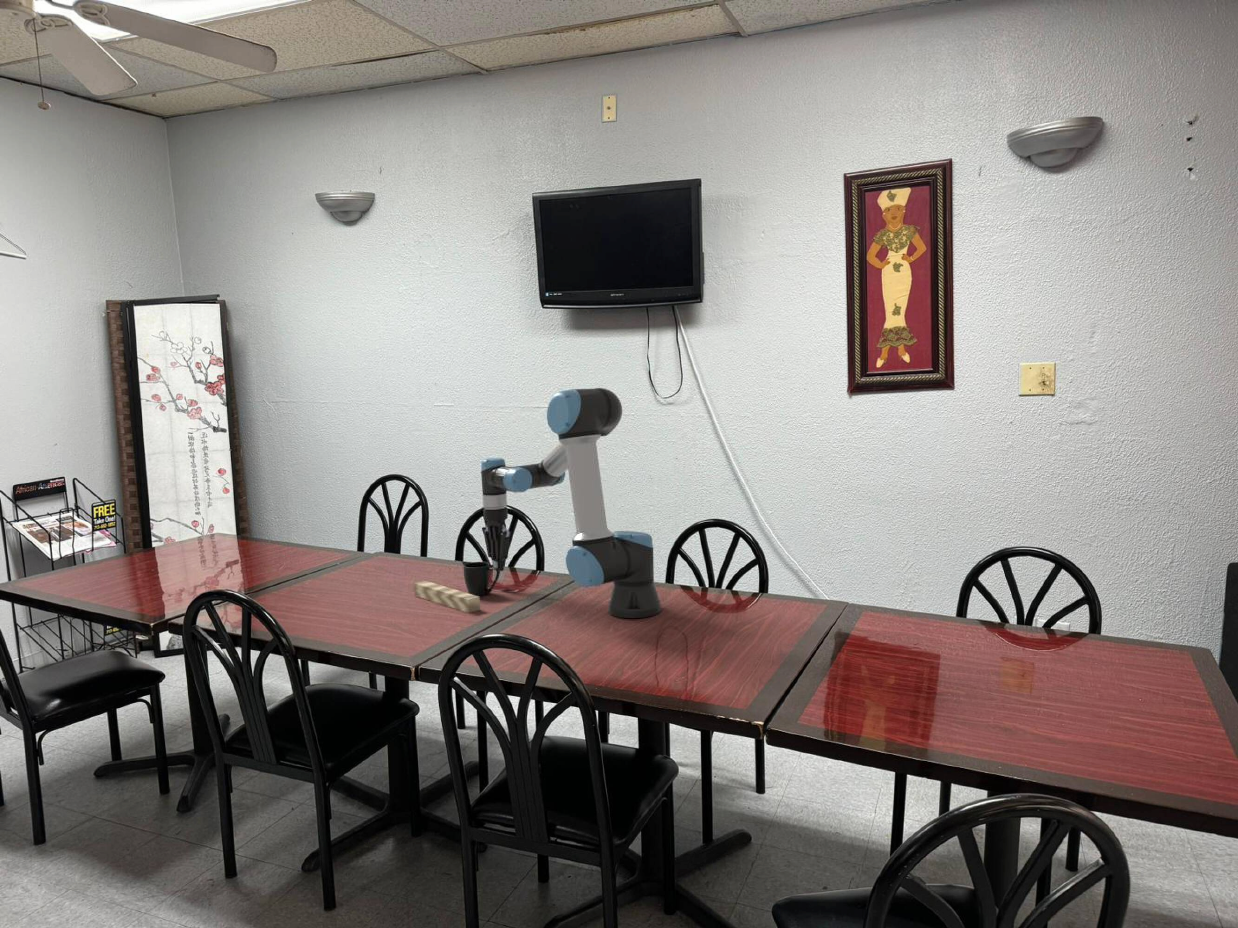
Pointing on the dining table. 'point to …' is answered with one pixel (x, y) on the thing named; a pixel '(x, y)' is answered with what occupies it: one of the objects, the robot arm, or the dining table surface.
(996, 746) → the dining table surface
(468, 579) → the mug
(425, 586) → the wooden bar
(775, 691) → the dining table surface
